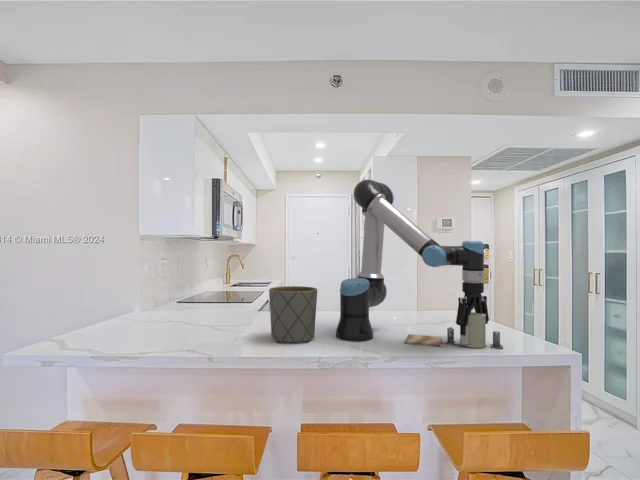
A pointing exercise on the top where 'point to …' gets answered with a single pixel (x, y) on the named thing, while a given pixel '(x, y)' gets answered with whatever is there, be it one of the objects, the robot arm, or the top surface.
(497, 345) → the lug post right
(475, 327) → the can
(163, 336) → the top surface
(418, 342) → the tan flat square board
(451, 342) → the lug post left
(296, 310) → the planter
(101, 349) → the top surface
